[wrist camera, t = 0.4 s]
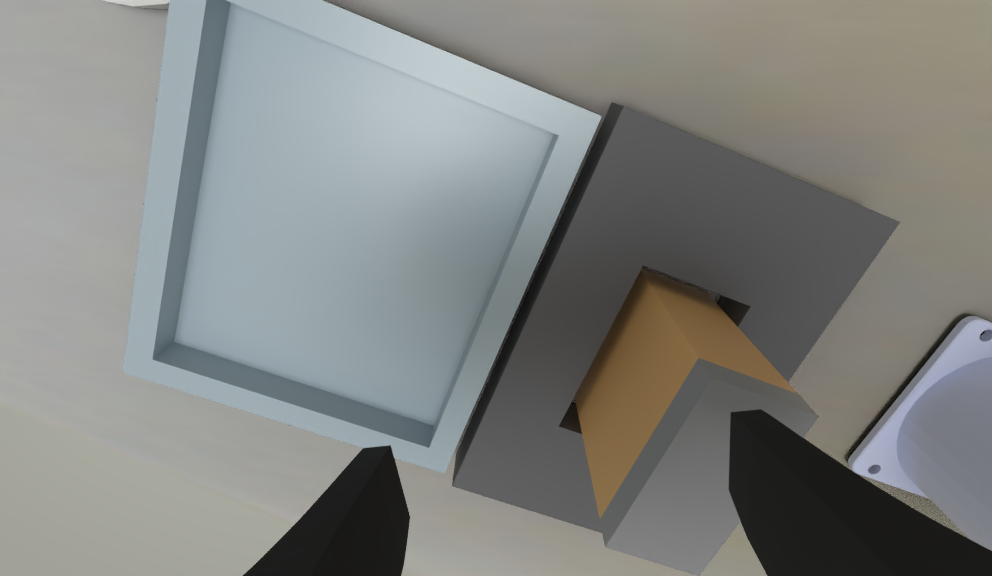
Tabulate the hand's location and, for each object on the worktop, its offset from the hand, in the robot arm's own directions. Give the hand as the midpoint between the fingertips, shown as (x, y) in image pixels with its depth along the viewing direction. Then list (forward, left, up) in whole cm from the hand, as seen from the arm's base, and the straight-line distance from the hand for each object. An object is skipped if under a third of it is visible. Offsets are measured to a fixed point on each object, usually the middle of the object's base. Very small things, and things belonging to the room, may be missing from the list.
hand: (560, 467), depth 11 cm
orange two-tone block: (-5, +1, -10) cm, 11 cm away
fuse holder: (-5, +1, -10) cm, 11 cm away
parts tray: (+7, +1, -10) cm, 12 cm away
